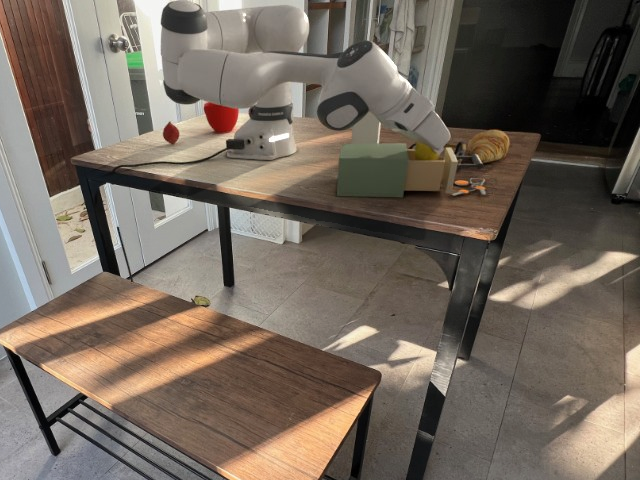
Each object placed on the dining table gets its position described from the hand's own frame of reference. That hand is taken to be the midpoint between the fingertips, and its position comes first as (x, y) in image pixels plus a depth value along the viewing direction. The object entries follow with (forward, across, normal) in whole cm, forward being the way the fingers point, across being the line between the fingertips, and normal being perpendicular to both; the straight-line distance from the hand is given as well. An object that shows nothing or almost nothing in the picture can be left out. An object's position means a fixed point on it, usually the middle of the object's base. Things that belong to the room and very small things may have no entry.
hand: (430, 147), depth 100 cm
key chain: (+13, +5, -1) cm, 14 cm away
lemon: (+3, 0, -4) cm, 5 cm away
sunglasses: (+15, -15, +1) cm, 21 cm away
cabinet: (-1, -5, -15) cm, 16 cm away
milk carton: (+5, -27, -9) cm, 29 cm away
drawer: (+7, +1, -6) cm, 9 cm away
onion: (-32, -72, -46) cm, 91 cm away
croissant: (+27, -15, +13) cm, 33 cm away
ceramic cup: (-18, -85, -32) cm, 92 cm away
